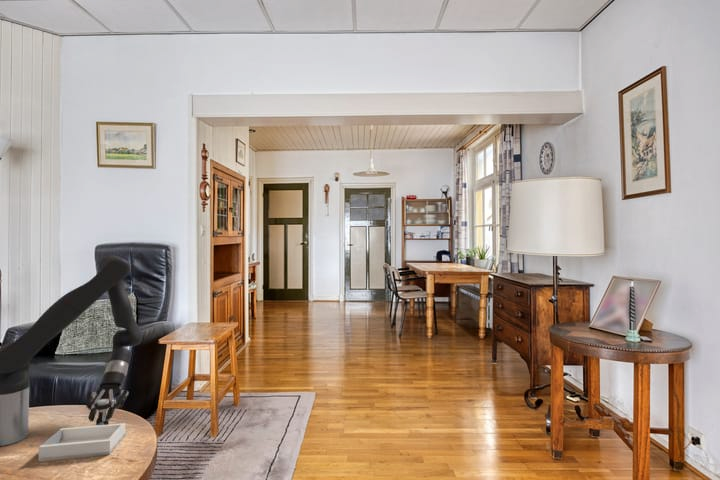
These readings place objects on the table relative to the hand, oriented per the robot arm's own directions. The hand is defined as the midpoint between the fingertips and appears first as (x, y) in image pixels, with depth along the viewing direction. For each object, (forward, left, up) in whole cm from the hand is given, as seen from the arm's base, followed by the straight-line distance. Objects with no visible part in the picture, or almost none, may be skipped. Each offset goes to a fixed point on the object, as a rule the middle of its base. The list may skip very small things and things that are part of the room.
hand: (99, 419), depth 133 cm
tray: (0, -10, -5) cm, 11 cm away
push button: (0, +2, -4) cm, 5 cm away
